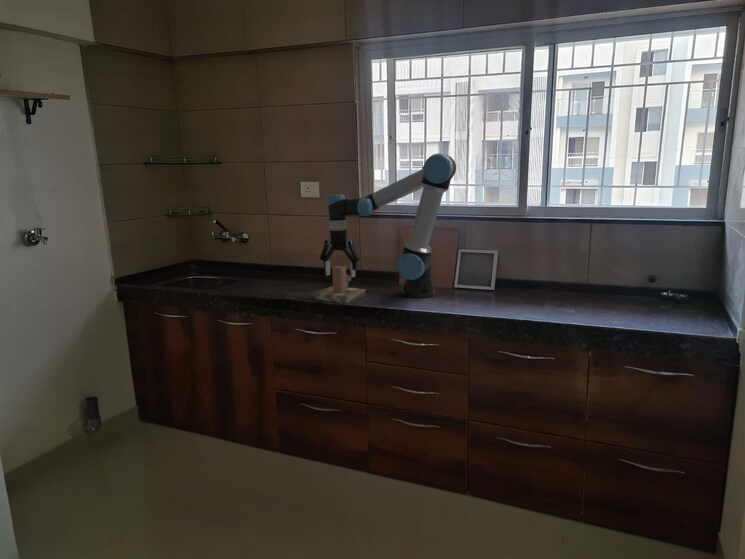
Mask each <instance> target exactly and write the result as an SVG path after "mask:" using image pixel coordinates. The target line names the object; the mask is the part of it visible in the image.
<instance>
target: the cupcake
mask: <svg viewBox="0 0 745 559" xmlns="http://www.w3.org/2000/svg"><path fill="white" fill-rule="evenodd" d="M344 267H346V268H347V264H345V265H344ZM351 281H352V277H351V275H350V274H348V273H346V284H347V287H348V288H349V283H350V282H351Z"/></svg>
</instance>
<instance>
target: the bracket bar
mask: <svg viewBox="0 0 745 559" xmlns="http://www.w3.org/2000/svg"><path fill="white" fill-rule="evenodd" d="M331 272H332V286H333V292H336V293H344V294H347V284H346V274H347V266H346V267H345V265H344V266H342V265H336V266H333V267H332V271H331Z"/></svg>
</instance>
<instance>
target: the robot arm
mask: <svg viewBox="0 0 745 559" xmlns="http://www.w3.org/2000/svg"><path fill="white" fill-rule="evenodd" d="M456 171H457V164H456V161H455V159H454V158H453V157H452V156H450V155H448V154H444V153H434V154H432V155H430V156H429V157H428V158H426V160H425V162H424V164H423V165H422V167H421V169H420V170H418V171H416V172H413V173H412V174H410V175H407V176H405V177H403V178H401V179H399V180H397V181H394V182H393V183H391V184H389V185H386V186H385V187H383V188H381V189H378V190H377V191H374V192H372V193H370V194H368V195H366V196H364V197H360V198H346V196H345V194H331V195H328V198H327V207H328V226H329V228H328V229H329V238H330V239H325V240H324V246H323V248H322V250H321V253H320V256H319V260H320V261H322V262H323V268H324V270H325V276H330V275H331V262H330V258H331V257H332V255H333V253H334V251H342V252H343V253H344V254H345V255H346V257H347V258H348V259H349V261H351V262H350V263H349V267H350V277H351V278H354V277H356V271H357V263H358V262H360V261H361V258H360V256H359V253H358V252H357V250H356V247H355V244H354V240H347V237H348V235H347V233H348V232H347V230H346V229H347V217H367V216H371V215H372V213H374V211H376V210H379V209H381V208H383V207H385V206H387V205H389V204H391V203H393V202H395V201H397V200H400V199H402V198H404V197H406V196H408V195H411V194H413V193H415V192H417V191H419V190H422V191H421V196H420V200H419V203H418V207H417V210H416V214H415V218H414V221H413V225H412V228H411V232H410V236H409V239H408V242H406V243H404V245H403V248H402V252H401V255H400V257H399V258H398V261H397V264H396V265H397V266H396V268H397V271H398V273H399V274H400V276H402V277H403V279H405V281H404V284H403V287H402V296H404V297H406V298H414V299H415V298H416V299H419V298H420V299H423V298H430V297H433V296H435V295H436V290H435V287H434V282H433V280H432V253H433V252H432V247H431V246H430V241H431V238H432V234H433V231H434V227H435V223H436V220H437V216H438V213H439V209H440V205H441V202H442V199H443V195H444V193H446V192H447V191H449V189H450V188H449V187H450V184H451V182H452V179H453V177H454V176H455V175H456ZM330 245H331V246H330Z"/></svg>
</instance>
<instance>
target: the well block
mask: <svg viewBox="0 0 745 559" xmlns="http://www.w3.org/2000/svg"><path fill="white" fill-rule="evenodd" d="M366 291H367V290H366V289H365V288H364V289H363V288H358V287H357V288H356V287H349V286H348V287H347V294H344V293H336V292H333V285H332V286H329V287H326V288H323V289H321V290H318V291H314V292H313V300H318V301H325V302H332V303H333V302H334V303H339V304H340V303H341V304H349V302H350V303H352V302H354V301H357V300H358V299H361V298H363V297H366V295H367V294H366V293H367V292H366ZM351 301H352V302H351Z"/></svg>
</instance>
